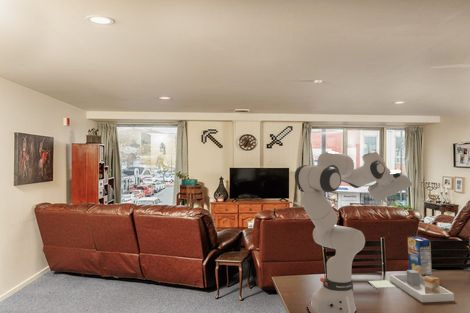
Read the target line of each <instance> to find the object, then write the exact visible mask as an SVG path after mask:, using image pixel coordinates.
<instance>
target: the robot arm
mask: <svg viewBox="0 0 470 313" xmlns="http://www.w3.org/2000/svg"><path fill="white" fill-rule="evenodd" d="M361 158H362V160H363V162H364V164H363V165H361V166H359V167H356V168H355V162H354V159H353V158H352V157H351V156H349V155H348V154H347V153H346V154H345V153H343V152H342V153H341V152H338V151H337V152H336V151H323V152H321V154H320V155H319V156H318V158H317V162H316V165H308V164H303V165H301V166H298V167H297V168H296V170H295V172H294V181H295V184H296V185H297V188H298V191H300V192H302V193H303V194H302V195H301V199H300V201H301V204H302V206H303V209H304V211H305V213H306V214H307V216H308V217H309V219H310V220H311V222H312V223H313V225H314V226H315V227H314V228H313V230H312V238H313V241H314V242H315V243H316V244H318V245H320V246H322V247H323V248H324V247H325V248H329V249H333V250H335V255H333V256H331V257H330V258H328V259H327V261H326V277H325V278H324V277H320V279H319V281H320V282H321V283H322V284H323V285H322V286H320V288H318V289H317V290H316V291H315V292H313V293H312V296H311V301H310V302H311V306H312V308H313V310H314V311H315V312H317V313H354V312H355V311H356V309H357V307H356V304H355V299H354V282H353V278H352V274H353V273H352V265H353V261H354V258H355V256H356V255H357V253H359V252H360V251H362V250H363V248H364V247H365V246H366V237H365V235H364V233H363V231H362V230H359V229H357V228H354V227H350V226H349V227H348V226H345V225H344V226H342V225H339V224H338V225H337V223H338V220H339V218H338V214H337V213H336V211H335V210H334V208H333V206H332V205H331V203H330V202H329V201H328V199H327V198H326V196H325V193H333V192H336V191H337V190H338V189H339V188H340V186H341V183H343V182H344V183H346V184H348V185H349V186H350V187H352V188H354V189H359V188H362V187H363V186H365V185H369V184H370V185H369V186H368V188H367V191H368V193H369V194H370V195H372V197H373V199H374V201H375V202H377V203H378V202H381V201H383V202H385V204H387V205H388V206H391V205H392V203H391V201H390V200H387V198H389V197H391V196H393V195H395V194H398V193H400V192H402V191H404V192H405V193H404V194H403V195H404V196H405V198H409V197H410V195H409V194H408V188H410V187H412V186H413V182H412V180H410V179H409V177H408V176H407V175H406V174H404V173H403V172H402V170H401V169H400V168H399V169H394V170H390V168H388V167H387V165H386V162H385V160H384V159H383V158H382V157H381V155H380V153H378V152H377V151H376V150H372V151H369V152H368V153H366V154H364V155H362V156H361ZM374 182H375V183H374ZM371 183H373V184H371Z"/></svg>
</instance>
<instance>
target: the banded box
mask: <svg viewBox="0 0 470 313" xmlns="http://www.w3.org/2000/svg"><path fill="white" fill-rule="evenodd" d="M424 280H425V294H434V293H440V278H439V277H436V276H434V275H432V276H424Z"/></svg>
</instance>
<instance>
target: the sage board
mask: <svg viewBox="0 0 470 313" xmlns="http://www.w3.org/2000/svg"><path fill="white" fill-rule="evenodd" d="M368 282H369V283H370V284H372V285H373V286H374V287H375V288H374V289H376V290H378V289H380V288H394V287H395V288H397V285H395V284H394V283H392V282H391V281H390V280H386V279H385V280H383V279H382V280H368ZM368 282H367V283H368ZM369 283H368V284H369ZM370 284H369V285H370ZM372 285H371V286H372Z"/></svg>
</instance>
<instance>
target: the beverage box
mask: <svg viewBox="0 0 470 313" xmlns="http://www.w3.org/2000/svg"><path fill="white" fill-rule="evenodd" d="M431 247H432V246H431V239H428V238H424V237H420V236H418V235H417V236H407V253H408V254H407V255H408V270H416V271H418V272H419V275H421V276H422V277H424V276H433V272H432V270H433V269H432V268H433V267H432V253H431V252H432V248H431Z"/></svg>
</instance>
